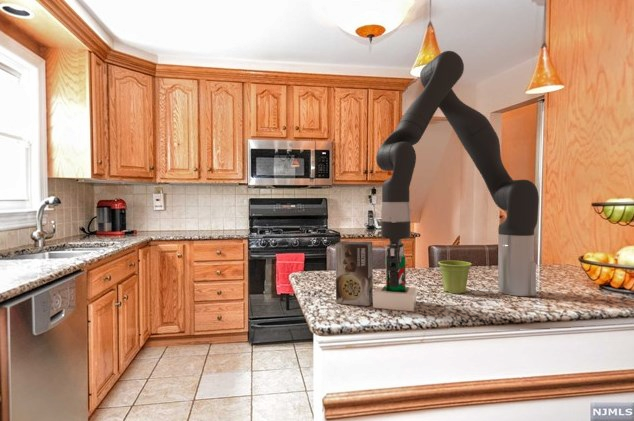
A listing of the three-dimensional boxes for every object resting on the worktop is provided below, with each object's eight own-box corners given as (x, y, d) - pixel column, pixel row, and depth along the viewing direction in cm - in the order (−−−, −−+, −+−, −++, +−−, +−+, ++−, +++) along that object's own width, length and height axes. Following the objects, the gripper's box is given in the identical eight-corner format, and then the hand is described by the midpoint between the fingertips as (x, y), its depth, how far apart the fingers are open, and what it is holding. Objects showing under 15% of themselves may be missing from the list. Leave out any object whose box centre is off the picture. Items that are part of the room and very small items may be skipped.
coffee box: (373, 300, 99) (373, 241, 98) (369, 306, 93) (369, 243, 92) (341, 297, 102) (341, 240, 101) (334, 303, 96) (334, 242, 95)
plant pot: (438, 294, 106) (438, 264, 105) (437, 287, 115) (437, 259, 114) (473, 296, 103) (473, 265, 103) (469, 289, 112) (469, 261, 112)
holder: (416, 301, 98) (416, 286, 98) (413, 311, 88) (413, 295, 88) (379, 297, 101) (379, 283, 101) (372, 307, 92) (372, 291, 92)
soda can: (405, 295, 97) (405, 250, 97) (406, 300, 92) (405, 253, 92) (386, 294, 98) (385, 250, 98) (385, 299, 93) (385, 252, 93)
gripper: (385, 218, 103) (385, 278, 103) (376, 220, 89) (376, 289, 89) (412, 218, 100) (412, 280, 100) (407, 221, 86) (407, 291, 87)
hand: (395, 284), depth 95 cm, fingers closed on soda can, 5 cm apart
